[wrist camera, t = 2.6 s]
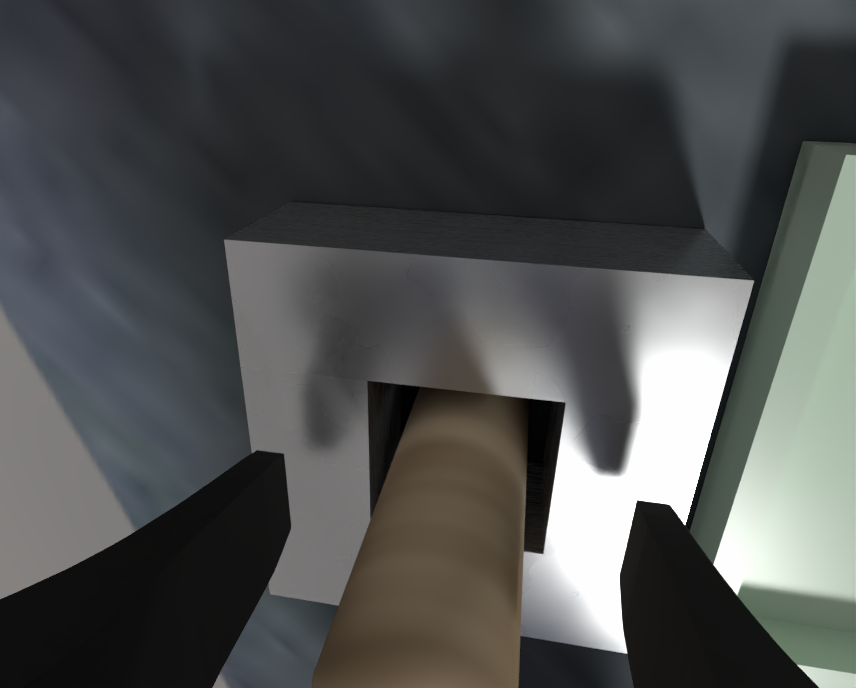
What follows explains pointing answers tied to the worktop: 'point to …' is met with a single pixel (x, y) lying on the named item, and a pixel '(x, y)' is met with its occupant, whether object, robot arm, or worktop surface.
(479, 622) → the pin
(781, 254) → the tray
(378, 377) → the socket block
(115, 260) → the worktop surface
